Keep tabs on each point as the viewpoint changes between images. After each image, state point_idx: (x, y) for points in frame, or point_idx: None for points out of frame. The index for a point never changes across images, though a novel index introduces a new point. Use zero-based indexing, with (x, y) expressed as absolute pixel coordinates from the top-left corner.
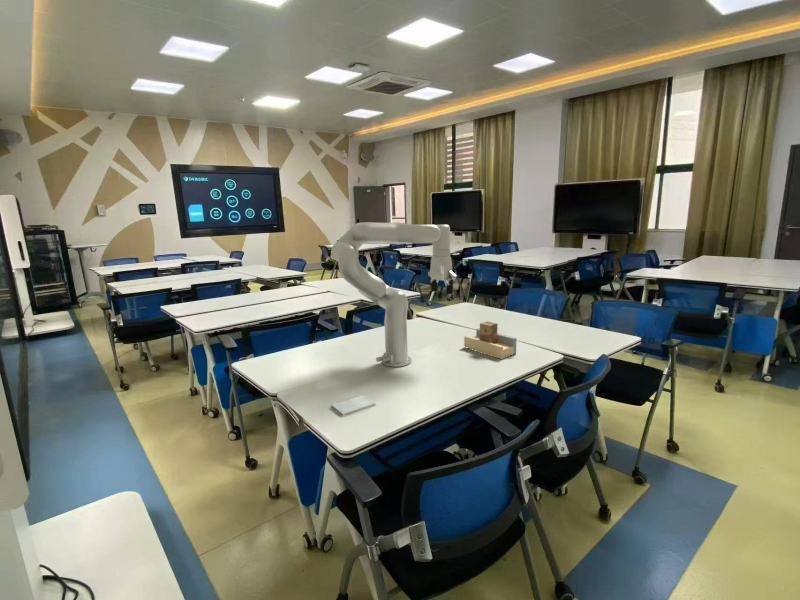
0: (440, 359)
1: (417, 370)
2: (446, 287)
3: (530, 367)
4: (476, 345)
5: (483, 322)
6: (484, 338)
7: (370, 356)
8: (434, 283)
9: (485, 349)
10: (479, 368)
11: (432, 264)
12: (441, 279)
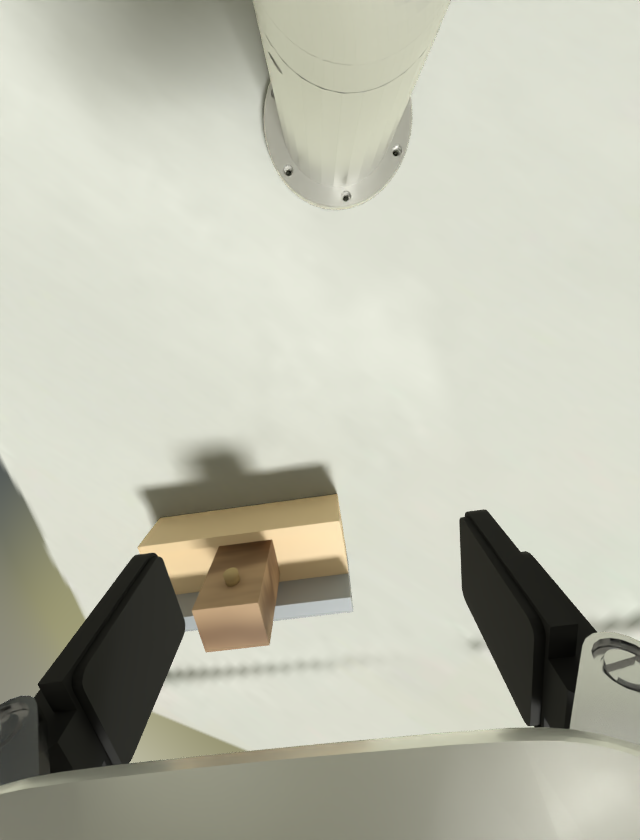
0: (264, 335)
1: (189, 164)
2: (92, 636)
3: (55, 541)
4: (270, 515)
5: (259, 621)
6: (242, 555)
7: (498, 28)
8: (524, 656)
9: (224, 519)
10: (108, 403)
11: None
12: (15, 804)
